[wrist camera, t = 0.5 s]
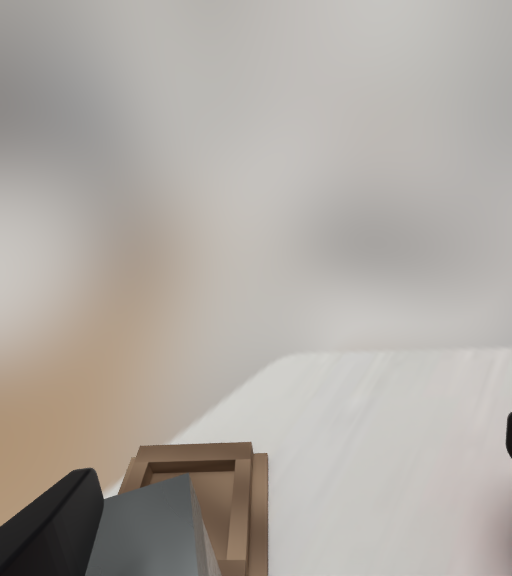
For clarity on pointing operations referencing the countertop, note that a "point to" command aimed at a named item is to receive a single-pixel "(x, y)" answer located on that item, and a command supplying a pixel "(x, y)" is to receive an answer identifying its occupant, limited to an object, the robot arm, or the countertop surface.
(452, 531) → the countertop surface
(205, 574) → the grey dark-topped prism
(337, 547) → the countertop surface
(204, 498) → the brown square tray
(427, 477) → the countertop surface
